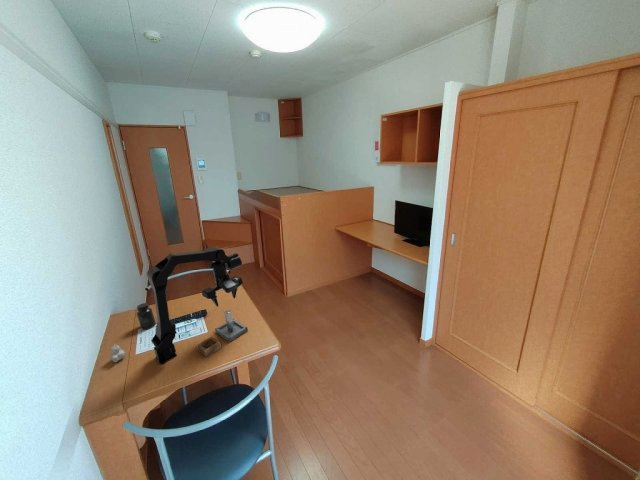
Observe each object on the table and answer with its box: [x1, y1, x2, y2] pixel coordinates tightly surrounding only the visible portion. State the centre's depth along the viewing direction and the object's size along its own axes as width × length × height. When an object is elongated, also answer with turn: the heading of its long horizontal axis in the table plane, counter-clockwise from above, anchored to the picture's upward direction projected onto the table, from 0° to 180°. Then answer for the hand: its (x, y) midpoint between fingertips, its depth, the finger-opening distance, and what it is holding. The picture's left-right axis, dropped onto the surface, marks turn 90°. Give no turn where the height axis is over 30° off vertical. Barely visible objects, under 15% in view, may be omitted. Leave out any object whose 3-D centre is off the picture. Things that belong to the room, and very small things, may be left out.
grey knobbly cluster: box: [108, 343, 126, 363], centre depth 118 cm, size 5×7×8 cm
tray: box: [214, 318, 248, 343], centre depth 133 cm, size 10×12×2 cm
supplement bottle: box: [136, 302, 157, 330], centre depth 140 cm, size 7×7×12 cm
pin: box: [223, 310, 235, 332], centre depth 131 cm, size 3×3×10 cm
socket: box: [196, 336, 222, 358], centre depth 121 cm, size 7×7×3 cm
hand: (226, 302), depth 135 cm, fingers open, 9 cm apart
